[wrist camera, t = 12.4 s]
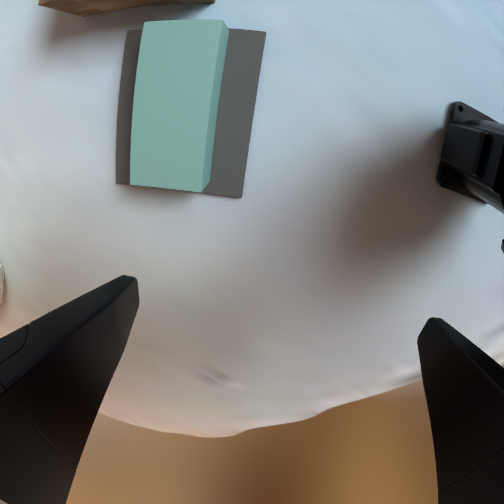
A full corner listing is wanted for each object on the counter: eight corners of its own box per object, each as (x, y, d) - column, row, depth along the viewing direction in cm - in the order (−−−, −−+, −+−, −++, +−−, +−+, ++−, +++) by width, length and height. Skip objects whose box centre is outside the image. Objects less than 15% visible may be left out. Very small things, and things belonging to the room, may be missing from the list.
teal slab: (229, 30, 14) (222, 20, 12) (209, 181, 19) (201, 192, 17) (159, 30, 14) (144, 21, 12) (145, 174, 19) (130, 184, 17)
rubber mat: (266, 33, 14) (265, 32, 14) (241, 196, 20) (241, 198, 19) (130, 31, 14) (128, 30, 14) (118, 181, 19) (116, 183, 19)
